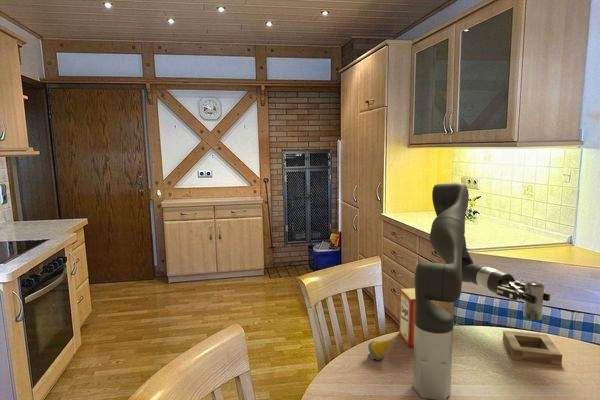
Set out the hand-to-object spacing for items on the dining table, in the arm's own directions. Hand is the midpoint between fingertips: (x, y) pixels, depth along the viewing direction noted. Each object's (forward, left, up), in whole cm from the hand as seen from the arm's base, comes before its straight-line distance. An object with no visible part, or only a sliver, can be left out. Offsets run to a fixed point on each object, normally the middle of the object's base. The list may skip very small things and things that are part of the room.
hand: (542, 299), depth 114 cm
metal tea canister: (+2, +2, -6) cm, 7 cm away
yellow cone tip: (-13, +46, -18) cm, 51 cm away
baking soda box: (+1, +36, -18) cm, 40 cm away
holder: (+2, +2, -17) cm, 18 cm away
